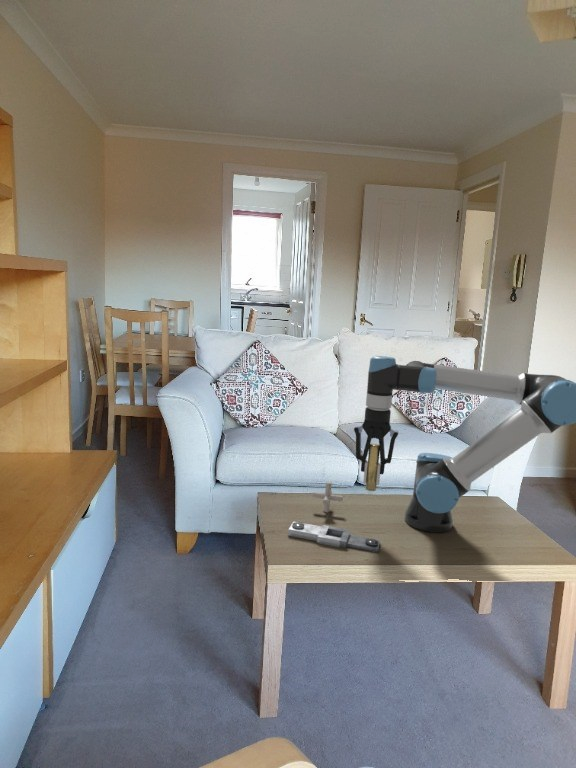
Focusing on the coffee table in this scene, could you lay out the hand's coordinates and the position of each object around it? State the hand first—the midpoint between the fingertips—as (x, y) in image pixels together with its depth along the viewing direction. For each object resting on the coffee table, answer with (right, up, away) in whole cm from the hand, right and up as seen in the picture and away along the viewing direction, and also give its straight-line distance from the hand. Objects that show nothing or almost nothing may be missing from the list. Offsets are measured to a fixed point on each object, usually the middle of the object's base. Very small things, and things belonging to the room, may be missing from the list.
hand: (371, 482), depth 162 cm
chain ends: (-12, -16, -6) cm, 21 cm away
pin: (0, -2, 0) cm, 2 cm away
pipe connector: (-13, -12, +15) cm, 23 cm away
